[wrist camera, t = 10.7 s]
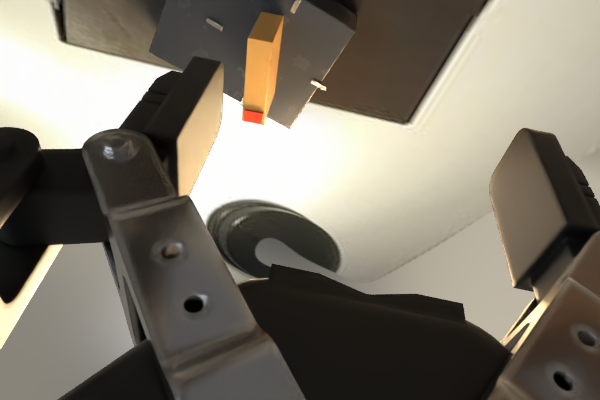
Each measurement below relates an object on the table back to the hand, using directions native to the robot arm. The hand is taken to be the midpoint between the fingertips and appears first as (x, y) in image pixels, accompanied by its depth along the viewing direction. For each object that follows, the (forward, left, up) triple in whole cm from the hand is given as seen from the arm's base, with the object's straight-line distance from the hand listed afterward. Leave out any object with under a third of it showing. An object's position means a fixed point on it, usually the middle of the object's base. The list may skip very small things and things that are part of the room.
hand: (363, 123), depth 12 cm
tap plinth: (0, -13, -28) cm, 31 cm away
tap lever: (+1, -13, -25) cm, 28 cm away
